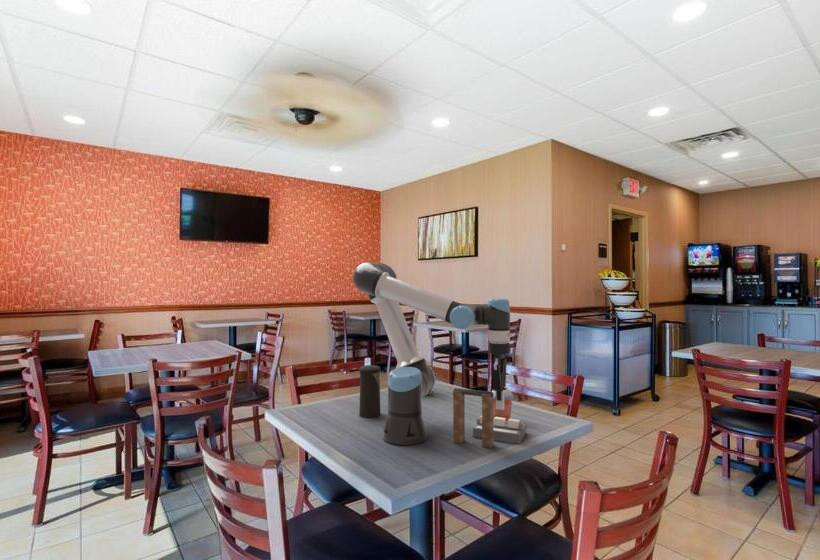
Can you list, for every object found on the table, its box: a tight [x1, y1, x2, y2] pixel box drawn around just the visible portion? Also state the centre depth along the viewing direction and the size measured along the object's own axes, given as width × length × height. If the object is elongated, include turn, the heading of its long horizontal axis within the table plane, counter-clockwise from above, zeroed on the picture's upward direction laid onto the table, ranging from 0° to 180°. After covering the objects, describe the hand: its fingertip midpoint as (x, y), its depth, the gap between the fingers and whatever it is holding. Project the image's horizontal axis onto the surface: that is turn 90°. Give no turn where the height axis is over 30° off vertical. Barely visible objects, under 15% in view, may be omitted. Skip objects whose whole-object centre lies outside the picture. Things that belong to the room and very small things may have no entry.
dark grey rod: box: [452, 387, 493, 397], centre depth 145 cm, size 14×2×2 cm, turn 64°
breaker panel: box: [472, 416, 527, 445], centre depth 153 cm, size 16×12×5 cm
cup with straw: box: [491, 386, 514, 422], centre depth 167 cm, size 9×9×18 cm
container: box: [358, 364, 381, 418], centre depth 177 cm, size 9×9×20 cm
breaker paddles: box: [479, 414, 521, 429], centre depth 153 cm, size 14×2×2 cm, turn 64°
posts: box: [452, 390, 495, 449], centre depth 144 cm, size 13×4×17 cm, turn 64°
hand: (500, 408), depth 153 cm, fingers closed
